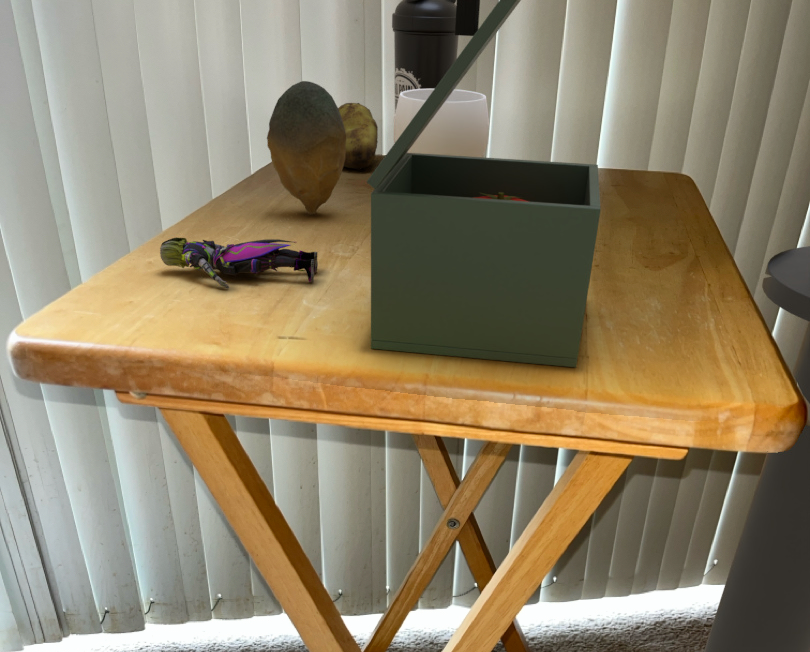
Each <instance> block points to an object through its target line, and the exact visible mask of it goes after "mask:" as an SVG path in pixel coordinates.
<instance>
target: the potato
mask: <svg viewBox="0 0 810 652" xmlns="http://www.w3.org/2000/svg"><path fill="white" fill-rule="evenodd" d="M338 109H339V112H340V115H341V118H342V121H343V124H344V127H345V131H346V152H345V162H344V166H343V167H345V168H348V169H354V170H358V171H359V170H362V169H365V168H367V167H368V166H370V165H371V164H372V163H373V161H374V160H375V158H376V152H377V149H378V142H379V141H378V138H379V137H378V136H379V134H378V131H379V129H378V124H377V122H376V120H375V119H374V117H373V114H372V112H371V110H370V108H368V107H367V106H365V105H363V104H361V103H360V102H345V103H344V104H341V105H340V106H339V107H338Z"/></svg>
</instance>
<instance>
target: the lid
mask: <svg viewBox="0 0 810 652" xmlns="http://www.w3.org/2000/svg"><path fill="white" fill-rule="evenodd" d="M521 1H522V0H499V1H498V2H497V3H496V4H495V6H494V7H493V9H492V10H491V11H490V13H489V14H488V15H487V16H486V18H485V20H484V21H483V23H481V25H480V27H478V30H477V32H476V33H475V35H474V36H471V39H470V40H469V41H468V43H467V44H466V45H465V46H464V48H463V49H462V51H461V52H460V54H459V55H457V59H456V60H455V62H454V63H453V65H452V66H451V67H450V69H449V70H448V71H447V73H446V74H445V75H444V77H443V78H442V80H441V81H440V82H439V84H438V85H437V86H436V88H435V89H434V90H433V92H432V93H431V95H430V96H429V97H428V99H427V100H426V101H425V103H424V104H423V105H422V107H421V108H420V110H419V111H418V112H417V114H416V115H415V116H414V118H413V119H412V120H411V122H410V123H409V125H408V126H407V127H406V129H405V130H404V131H403V133H402V134H401V135H400V137H399V138H398V140H397V141H396V142H395V143H393V145H392V146H391V148H390V149H389V151H387V153H386V155H385V156H384V157H383V159H382V160H381V161H380V162H379V164H378V165H377V167H376V168H375V169H374V171H373V172H372V173H371V175H370V176H369V178H368V179H367V181H366V183H367V184H368V185H369V186H370V187H371V188H372V189H373V190H374V189H375V190H376V189H377V188H378V186H379V185H380V184H381V183H382V182H383V180H384V179H385V178H386V177H387V176H388V174H389V173H390V172H391V171H392V170H393V168H394V167H395V166H396V165H397V164H398V162H399V161H400V160H401V159H402V158H403V156H404V155H405V154H406V153H407V152H408V150H409V149H410V148H411V146H412V145H413V144H414V142H415V141H416V140H417V138H418V137H419V136H420V134H421V133H422V132H423V130H424V129H425V128H426V126H427V125H428V124H429V122H430V121H431V120H432V118H433V117H434V116H435V114H436V113H437V112H438V110H439V109H440V108H441V106H442V105H443V104H444V102H445V101H446V100H447V98H448V97H449V96H450V94H451V93H452V92H453V90H454V89H456V88H457V86H458V85H459V84H460V82H461V81H462V80H463V78H464V77H465V76H466V75H467V73H468V72H469V70H470V69H471V68H472V66H473V65H474V64H475V63H476V62H477V60H478V59H479V57H480V56H481V54H482V53H483V51H484V50H485V49H486V48H487V46H488V45H489V44H490V42H491V41H492V40H493V38H494V37H495V36H496V35H497V33H498V32H499V30H500V29H501V28H502V26H503V25H504V23H505V22H506V21H507V20H508V18H509V17H510V16H511V15H512V13H513V11H514V10H516V7H518V5H519V4H520V2H521Z"/></svg>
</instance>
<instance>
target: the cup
mask: <svg viewBox="0 0 810 652" xmlns="http://www.w3.org/2000/svg"><path fill="white" fill-rule="evenodd" d="M433 90H434V89H414V90H407V91H403V92H401V93H400V95H399V99H398V103H397V108H396V112H395V111H394V117H393V144H395V142H396V141H397V140H398V138H399V137H400V135H401V134H402V133H403V131H404V130H405V129H406V127H407V126H408V125H409V123H410V122H411V120H412V119H413V118H414V116H415V115H416V114H417V112H418V111H419V110H420V108H421V107H422V105H423V104H424V103H425V101H426V100H427V99H428V97H429V96H430V95H431V93H432V92H433ZM488 107H489V106H488V100H487V95H485V94H484V93H481V92H477V91H472V90H465V89H456V88H455V89H454V90H453V92H452V93H451V94H450V96H449V97H448V98H447V100H446V101H445V102H444V104H443V105H442V106H441V108H440V109H439V110H438V112H437V113H436V114H435V116H434V117H433V118H432V120H431V121H430V122H429V124H428V125H427V126H426V128H425V129H424V130H423V132H422V133H421V134H420V136H419V137H418V138H417V140H416V141H415V142H414V144H413V145H412V146H411V148H410V149H409V150H408V152H407V153H421V154H437V155H453V156H469V157H484V155H485V153H486V149H487V147H488V144H489V143H488V142H489V130H490V115H489V108H488Z"/></svg>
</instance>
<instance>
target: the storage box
mask: <svg viewBox="0 0 810 652" xmlns="http://www.w3.org/2000/svg"><path fill="white" fill-rule="evenodd" d="M599 178H600V176H599V165H598V164H596V163H595V164H594V163H593V164H592V163H577V162H562V161H548V160H546V161H545V160H532V159H531V160H529V159H516V158H499V157H486V156H485V157H484V156H483V157H469V156H453V155H437V154H421V153H406V154H405V155H404V156H403V158H402V159H401V160H400V161H399V162H398V164H397V165H396V166H395V167H394V168H393V170H392V171H391V172H390V173H389V174H388V176H387V177H386V178H385V179H384V180H383V182H382V183H381V184H380V185H379V186H378V188H377V189H376V190H375V189H374V188H373V190H372V192H370V349H373V350H383V351H394V352H404V353H416V354H424V355H425V354H426V355H437V356H446V357H447V356H449V357H459V358H471V359H481V360H490V361H499V362H501V361H502V362H513V363H523V364H532V365H533V364H534V365H546V366H555V367H565V368H577V364H578V358H579V352H580V345H581V341H582V340H581V339H582V333H583V327H584V319H585V315H586V314H585V313H586V308H587V302H588V293H589V287H590V281H591V276H592V275H591V274H592V269H593V261H594V255H595V249H596V243H597V236H598V229H599V222H600V218H601V217H600V216H601V211H602V209H601V194H600V179H599ZM479 192H480V193H479ZM499 192H503V193H504V195H505V196H515V198H518V197H522V198H519V199H522V200H526V201H512V200H498V199H483V198H474V197H482V196H487V195H484V194H489V195H498V193H499ZM481 193H483V194H481ZM527 201H529V202H527Z"/></svg>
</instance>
